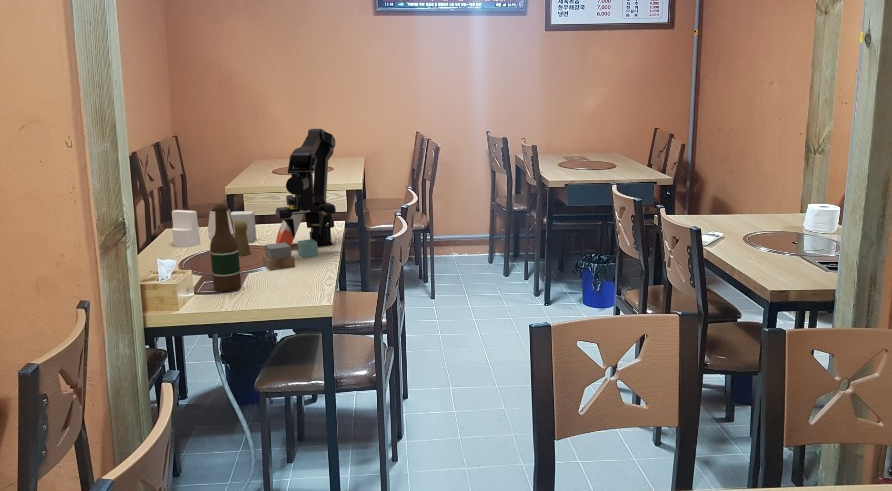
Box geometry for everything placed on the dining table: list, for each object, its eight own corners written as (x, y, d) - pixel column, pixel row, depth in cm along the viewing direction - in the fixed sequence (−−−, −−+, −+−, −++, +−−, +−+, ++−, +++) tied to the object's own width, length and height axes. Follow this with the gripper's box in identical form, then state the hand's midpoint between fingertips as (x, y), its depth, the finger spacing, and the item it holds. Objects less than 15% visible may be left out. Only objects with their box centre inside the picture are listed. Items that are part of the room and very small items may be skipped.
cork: (245, 256, 255) (243, 223, 252) (228, 255, 256) (226, 223, 254) (253, 252, 261) (251, 220, 258) (237, 251, 262) (234, 219, 259)
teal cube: (313, 253, 258) (312, 239, 257) (317, 256, 253) (317, 242, 252) (298, 255, 256) (297, 240, 255) (303, 258, 251) (302, 243, 250)
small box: (256, 239, 280) (254, 210, 278) (253, 242, 275) (251, 213, 272) (234, 239, 280) (232, 211, 277) (230, 243, 274) (228, 214, 272)
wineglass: (214, 279, 228) (208, 213, 223) (209, 273, 235) (203, 209, 230) (241, 275, 232) (236, 210, 227) (235, 269, 238) (230, 206, 234)
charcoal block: (285, 252, 246) (285, 242, 245) (291, 257, 240) (290, 246, 239) (265, 255, 243) (264, 244, 242) (270, 260, 237) (270, 249, 237)
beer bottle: (216, 284, 223) (209, 203, 217) (243, 283, 223) (237, 202, 218) (210, 292, 215) (203, 208, 210) (238, 291, 216) (232, 207, 210)
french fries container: (276, 246, 260) (296, 197, 259) (274, 239, 271) (293, 192, 269) (289, 250, 262) (309, 202, 260) (286, 243, 272) (305, 197, 270)
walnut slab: (288, 262, 248) (287, 252, 247) (295, 268, 241) (294, 257, 240) (263, 265, 244) (262, 255, 243) (269, 271, 237) (269, 260, 236)
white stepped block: (168, 246, 271) (164, 212, 268) (185, 240, 279) (182, 208, 276) (188, 248, 268) (185, 214, 265) (205, 242, 276) (202, 209, 273)
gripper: (324, 183, 260) (326, 228, 264) (269, 188, 252) (273, 234, 256) (335, 188, 251) (337, 234, 254) (278, 193, 243) (281, 241, 246)
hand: (307, 236), depth 253 cm, fingers open, 9 cm apart
